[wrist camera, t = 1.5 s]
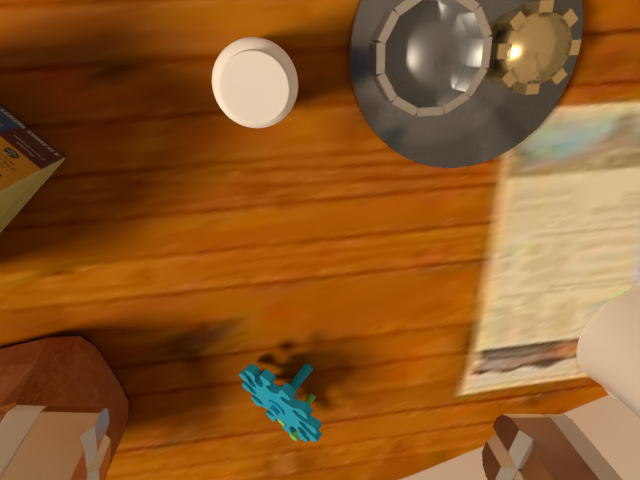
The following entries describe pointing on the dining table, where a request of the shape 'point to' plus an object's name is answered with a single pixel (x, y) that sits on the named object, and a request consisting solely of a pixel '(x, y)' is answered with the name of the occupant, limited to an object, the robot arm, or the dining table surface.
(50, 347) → the bread
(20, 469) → the robot arm
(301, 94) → the dining table surface
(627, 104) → the dining table surface
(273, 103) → the pill bottle
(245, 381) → the gear
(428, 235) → the dining table surface
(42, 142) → the protein box
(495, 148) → the carrier plate
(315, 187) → the dining table surface
